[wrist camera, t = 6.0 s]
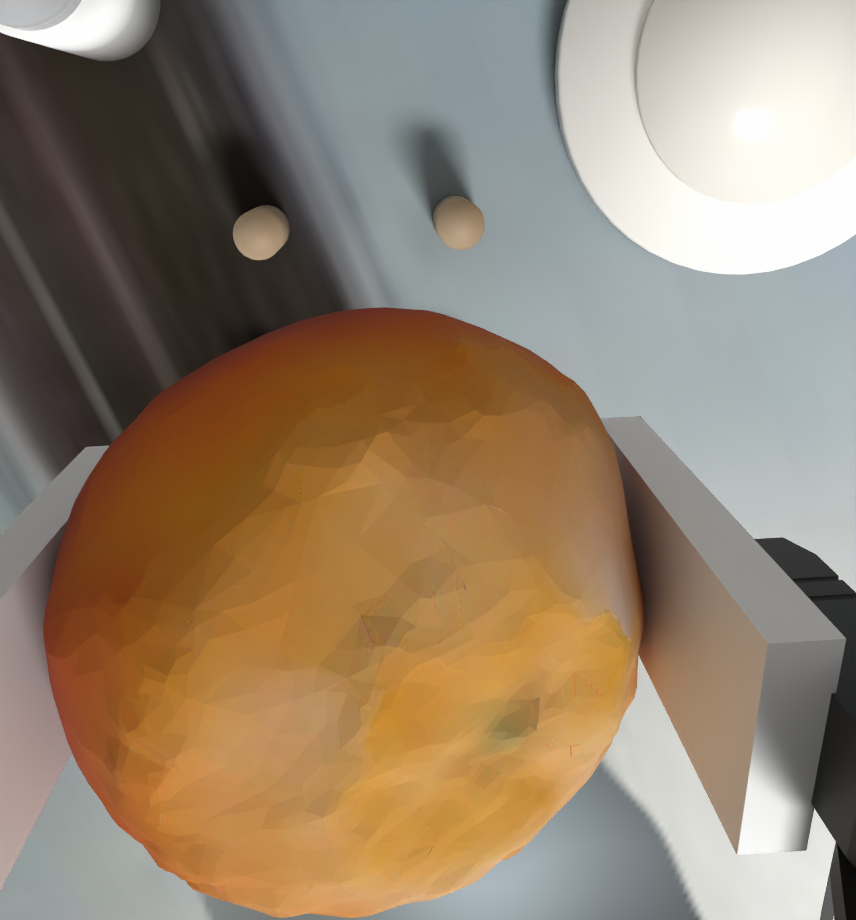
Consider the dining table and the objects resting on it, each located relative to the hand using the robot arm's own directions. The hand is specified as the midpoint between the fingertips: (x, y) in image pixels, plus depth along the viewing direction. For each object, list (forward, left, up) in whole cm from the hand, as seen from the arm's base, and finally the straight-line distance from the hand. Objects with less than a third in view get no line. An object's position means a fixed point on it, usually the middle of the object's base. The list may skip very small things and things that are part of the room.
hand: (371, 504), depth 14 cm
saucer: (+14, +8, -17) cm, 23 cm away
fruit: (0, 0, -1) cm, 1 cm away
